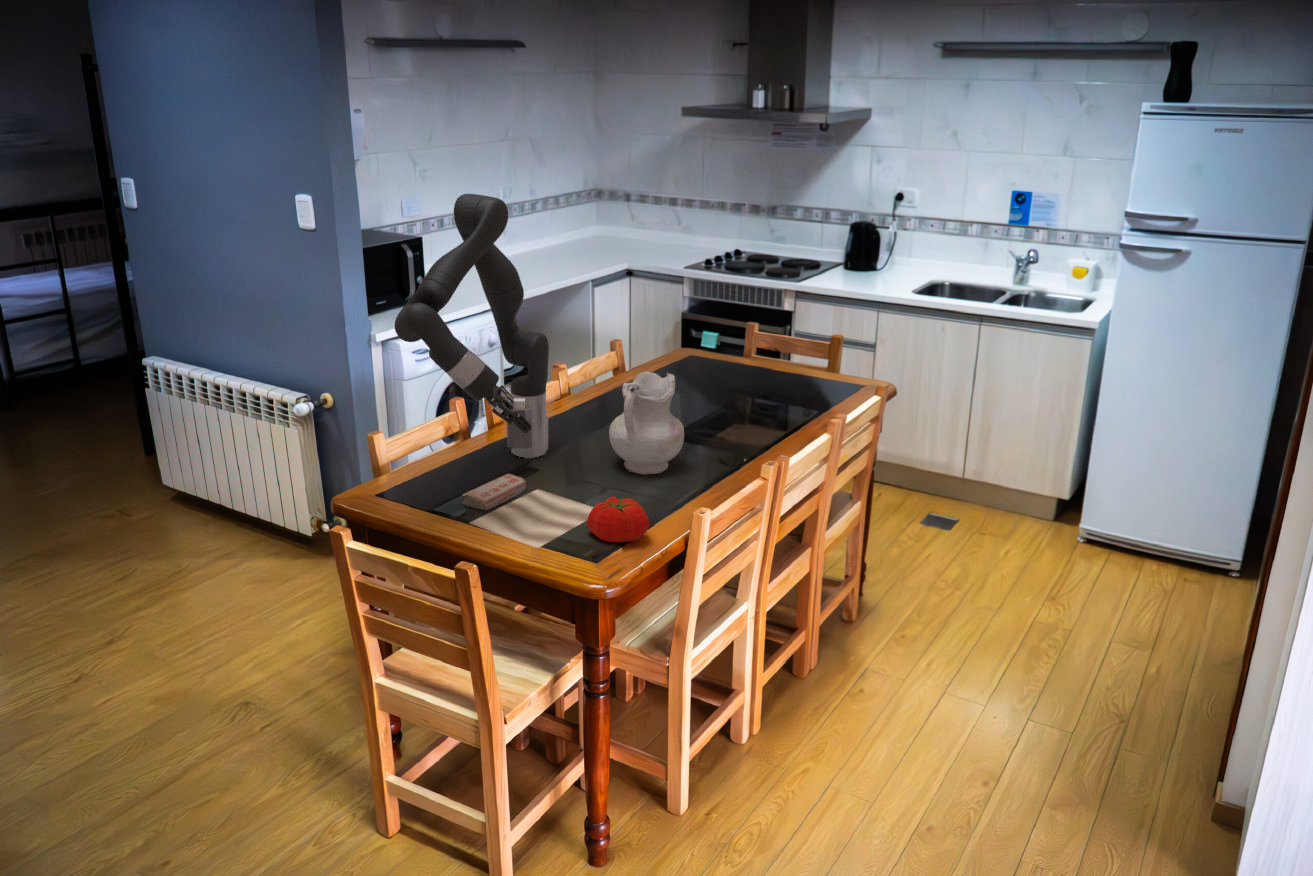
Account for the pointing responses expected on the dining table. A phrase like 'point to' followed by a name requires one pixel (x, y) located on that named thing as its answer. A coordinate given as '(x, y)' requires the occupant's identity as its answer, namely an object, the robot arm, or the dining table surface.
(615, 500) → the tomato
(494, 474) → the dining table surface
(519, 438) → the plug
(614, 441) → the ceramic pitcher
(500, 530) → the cloth
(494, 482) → the packaged product
